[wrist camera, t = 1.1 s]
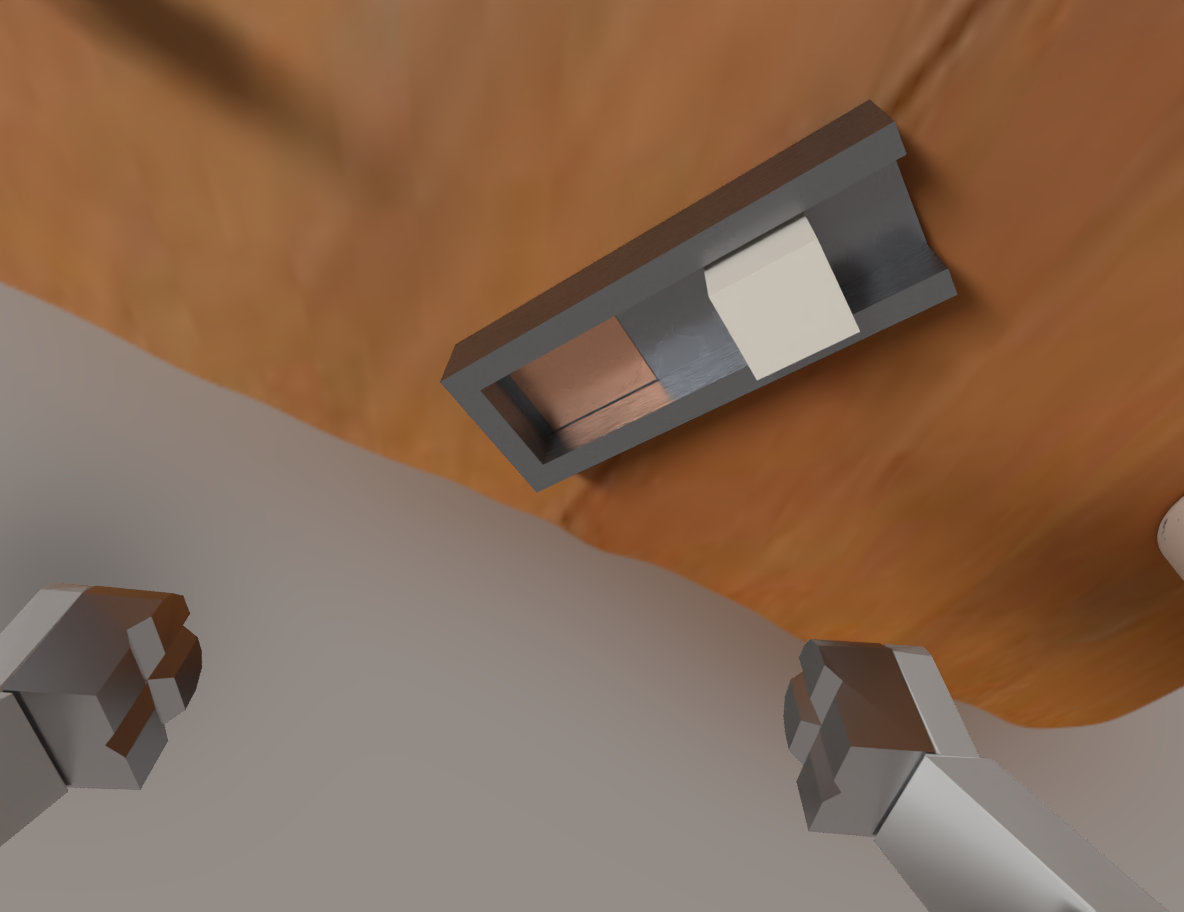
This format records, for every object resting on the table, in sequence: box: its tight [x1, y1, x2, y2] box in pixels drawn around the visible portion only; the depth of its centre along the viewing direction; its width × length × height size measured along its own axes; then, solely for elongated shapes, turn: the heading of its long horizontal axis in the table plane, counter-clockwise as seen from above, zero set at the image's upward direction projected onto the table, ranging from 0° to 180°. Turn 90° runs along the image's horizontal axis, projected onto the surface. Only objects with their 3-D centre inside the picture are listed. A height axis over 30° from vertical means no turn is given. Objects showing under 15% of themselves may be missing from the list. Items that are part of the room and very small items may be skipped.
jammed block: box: [703, 212, 860, 380], centre depth 34 cm, size 5×5×5 cm
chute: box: [440, 100, 958, 492], centre depth 37 cm, size 24×9×4 cm, turn 123°
